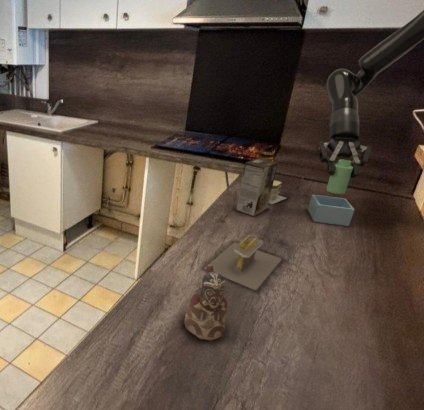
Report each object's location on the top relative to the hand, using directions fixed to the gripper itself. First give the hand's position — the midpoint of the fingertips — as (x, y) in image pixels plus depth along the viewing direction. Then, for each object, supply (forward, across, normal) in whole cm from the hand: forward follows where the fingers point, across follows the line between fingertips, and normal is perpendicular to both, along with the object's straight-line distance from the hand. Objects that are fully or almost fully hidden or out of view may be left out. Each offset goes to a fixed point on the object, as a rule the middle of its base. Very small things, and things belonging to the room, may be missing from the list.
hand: (343, 175), depth 104 cm
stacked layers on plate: (+1, -16, +20) cm, 26 cm away
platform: (+36, -26, -15) cm, 47 cm away
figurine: (+54, -34, -34) cm, 72 cm away
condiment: (-11, -18, +32) cm, 38 cm away
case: (+9, 0, +12) cm, 15 cm away
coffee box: (+11, -22, +10) cm, 26 cm away
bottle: (+3, 0, +5) cm, 6 cm away
